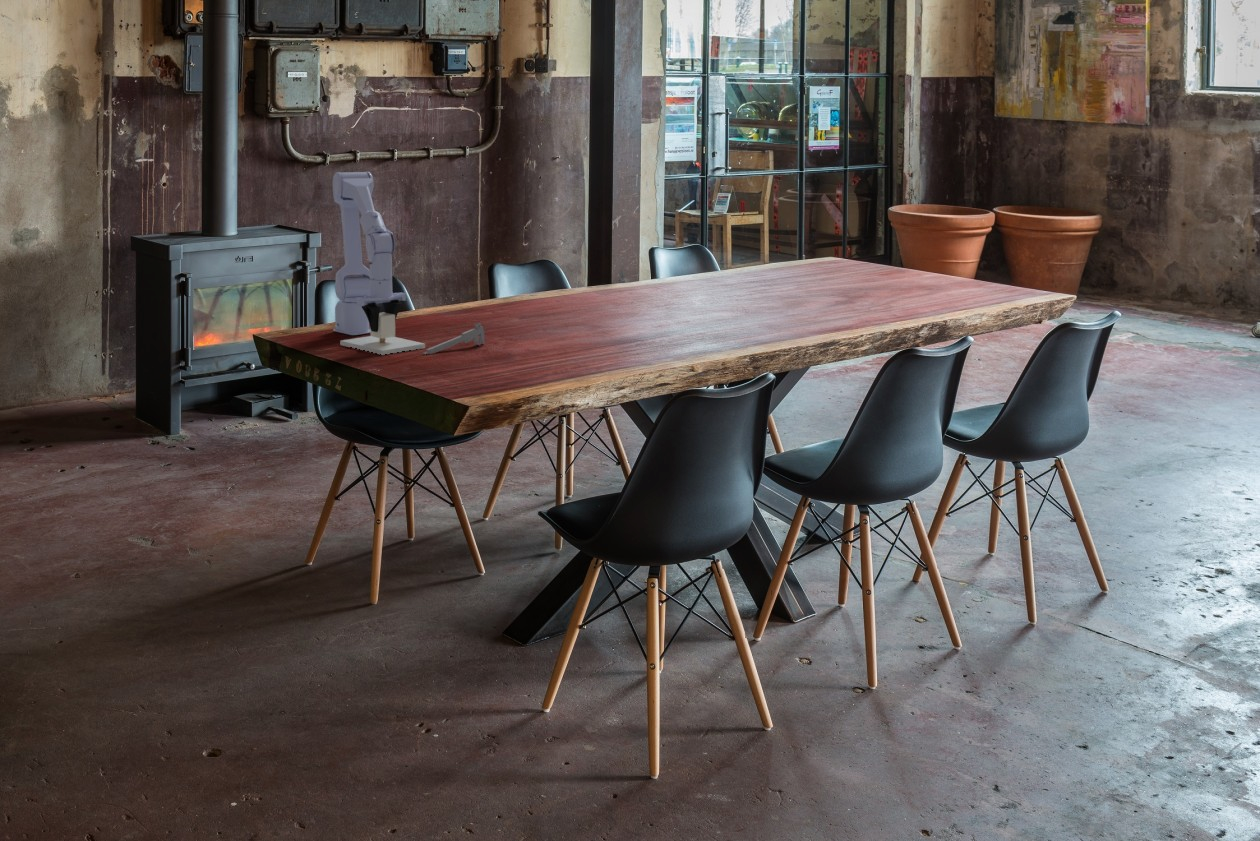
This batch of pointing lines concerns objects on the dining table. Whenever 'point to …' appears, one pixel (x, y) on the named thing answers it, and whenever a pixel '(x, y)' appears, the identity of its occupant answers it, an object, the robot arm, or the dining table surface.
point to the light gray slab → (382, 344)
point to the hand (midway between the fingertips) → (382, 330)
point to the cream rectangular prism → (385, 326)
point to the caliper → (461, 339)
